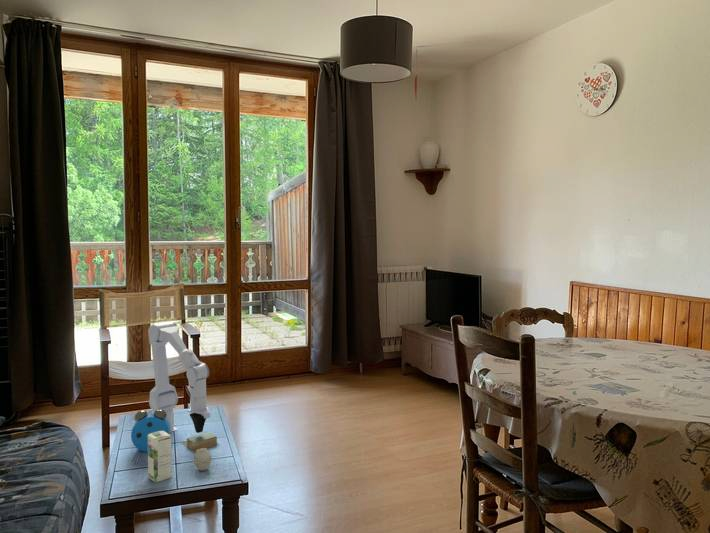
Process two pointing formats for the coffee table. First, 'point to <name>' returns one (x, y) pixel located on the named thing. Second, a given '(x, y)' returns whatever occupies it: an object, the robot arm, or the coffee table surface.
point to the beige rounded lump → (202, 459)
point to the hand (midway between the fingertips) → (199, 431)
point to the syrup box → (159, 456)
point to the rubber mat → (191, 449)
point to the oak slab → (201, 441)
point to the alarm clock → (148, 427)
